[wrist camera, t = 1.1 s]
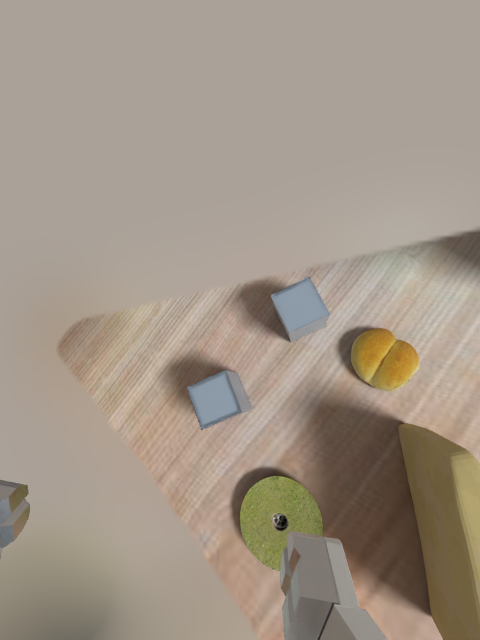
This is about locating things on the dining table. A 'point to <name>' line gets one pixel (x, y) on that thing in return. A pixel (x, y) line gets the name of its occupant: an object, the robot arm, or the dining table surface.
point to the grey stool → (218, 398)
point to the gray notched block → (300, 309)
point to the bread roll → (383, 359)
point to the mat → (277, 517)
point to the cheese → (446, 527)
